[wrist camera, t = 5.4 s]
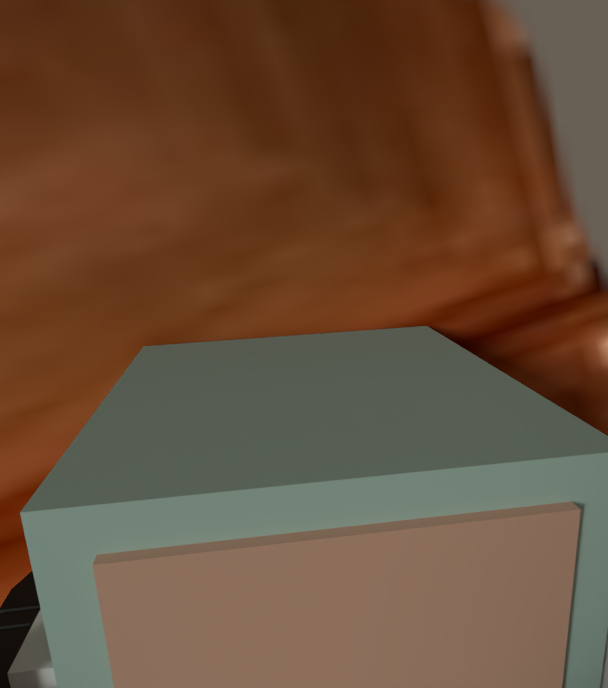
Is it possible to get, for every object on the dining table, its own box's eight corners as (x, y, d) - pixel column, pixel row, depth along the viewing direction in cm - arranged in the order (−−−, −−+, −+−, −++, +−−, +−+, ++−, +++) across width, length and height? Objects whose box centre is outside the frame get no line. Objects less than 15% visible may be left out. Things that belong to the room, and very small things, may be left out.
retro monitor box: (143, 346, 14) (12, 522, 6) (426, 326, 15) (641, 456, 7) (179, 619, 16) (118, 1007, 8) (422, 588, 17) (579, 914, 9)
